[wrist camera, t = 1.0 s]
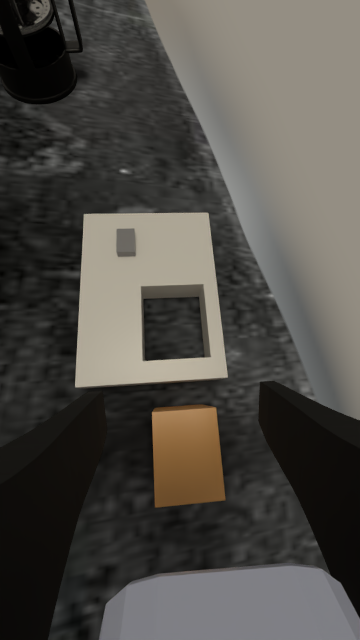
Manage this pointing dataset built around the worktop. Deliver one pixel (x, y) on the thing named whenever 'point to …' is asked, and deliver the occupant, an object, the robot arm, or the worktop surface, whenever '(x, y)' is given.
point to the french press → (36, 51)
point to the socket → (144, 296)
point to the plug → (186, 455)
